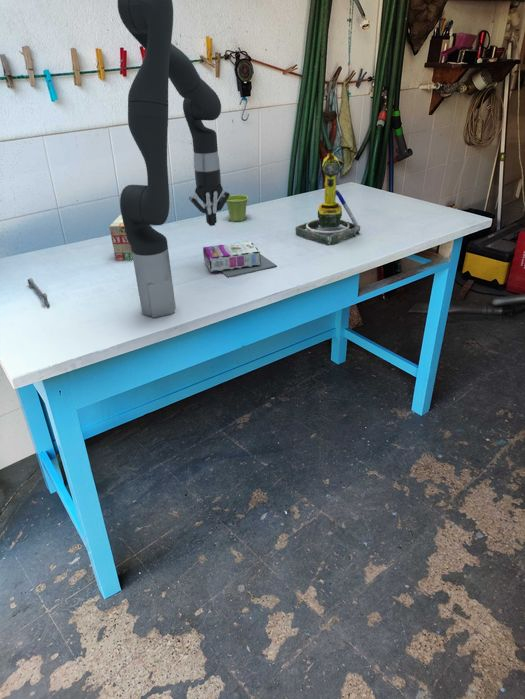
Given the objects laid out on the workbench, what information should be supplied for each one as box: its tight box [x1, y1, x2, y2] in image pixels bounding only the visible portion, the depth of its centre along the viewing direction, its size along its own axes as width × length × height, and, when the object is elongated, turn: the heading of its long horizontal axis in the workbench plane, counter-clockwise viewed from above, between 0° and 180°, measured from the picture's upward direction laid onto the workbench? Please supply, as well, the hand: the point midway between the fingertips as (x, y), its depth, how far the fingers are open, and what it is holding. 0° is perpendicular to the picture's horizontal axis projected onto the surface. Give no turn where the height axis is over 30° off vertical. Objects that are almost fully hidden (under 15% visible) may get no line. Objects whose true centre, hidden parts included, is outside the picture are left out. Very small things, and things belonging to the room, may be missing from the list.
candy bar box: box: [202, 240, 261, 273], centre depth 167 cm, size 11×5×16 cm
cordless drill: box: [295, 153, 361, 246], centre depth 184 cm, size 18×19×28 cm
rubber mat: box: [220, 253, 278, 279], centre depth 171 cm, size 20×17×1 cm
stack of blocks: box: [109, 214, 133, 262], centre depth 181 cm, size 21×6×12 cm, turn 177°
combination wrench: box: [27, 277, 50, 308], centre depth 152 cm, size 4×1×20 cm
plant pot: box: [225, 194, 249, 222], centre depth 208 cm, size 9×9×9 cm
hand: (211, 224), depth 163 cm, fingers closed
